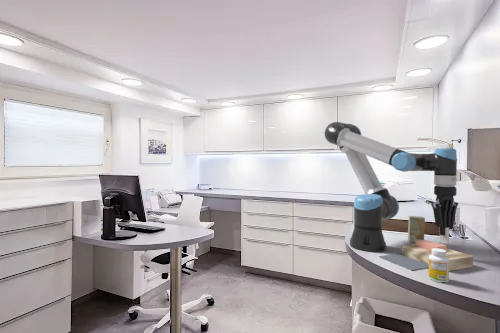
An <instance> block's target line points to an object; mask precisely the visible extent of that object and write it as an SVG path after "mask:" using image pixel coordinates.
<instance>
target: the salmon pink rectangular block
mask: <svg viewBox="0 0 500 333" xmlns="http://www.w3.org/2000/svg"><path fill="white" fill-rule="evenodd" d="M414 244H415V246H418V247H421V248H424V249H427V250H431V251H432V249H433V248H438V249H443V250H446V251H447V249H448V246H447V245H448V244H444V243H441V242H439V243H438V242H436V241H432V240H429V239H424V240H417V241H415V242H414Z"/></svg>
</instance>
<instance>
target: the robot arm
mask: <svg viewBox="0 0 500 333" xmlns="http://www.w3.org/2000/svg"><path fill="white" fill-rule="evenodd" d="M324 138H325V140H326V141H327V142H328V143H329V144H332V145H336V146H338V148H339V149H340V151H341V153H344V154H345V155H346V157H347V160H348V161H349V163H350V165H351V167H352V169H353V172H354V174H355V176H356V178H357V180H358V182H359V183H360V186H361V188H362V189H363V192H364V193H363V194H359V195H357V196H355V198H354V203H353V212H354V216H353V218H354V219H353V220H354V221H353V226H354V227H353V231H352V232H351V233H352V234H351V237H350V238H349V245H350V247H351V248H354V249H355V250H360V251H364V252H383V251H385V250H386V249H387V243H386V241H385V237H384V233H383V230H382V229H383V221H388V220H389V221H390V220H391V219H393V218H394V217H396V216H397V215H398V213H399V212H400V211H399V210H400V204H399V203H400V202H398V200H397V198H396V197H394V196H393V195H391V194H390V192H389V190H388V188H386V187H383V185H382V184H381V182H380V180H379V178H378V177H377V176H378V175H377V174H376V172H375V171H374V169H373V166H372V165H371V163H370V161H369V159H368V157H370V158H373V159H375V160H377V161H379V162H382V163H385V164H386V165H389V166H391V167H393V168H394V169H395V170H396V171H400V172H434V173H433V176H434V177H433V185H435V186H434V187H433V194H434V196H436V197H435V201H434V202H432V203H431V204H430V205H431V207H432V211H433V218H434V223H435V226H437V227H438V228H439V243H440V244H443V245H449V244H450V229H452V228H454V227H453V226H454V225H455V219H456V213H457V208H458V206H459V202H457V201H456V202H455V199H454V197H456V196H457V187H456V186H457V179H458V178H457V170H458V169H457V167H458V166H457V165H458V156H457V155H458V154H457V149H455V148H452V147H446V148H445V147H444V148H443V147H442V148H441V147H440V148H435V149H434V151H433V153H416V152H415V153H411V152H407V151H405V150H402V149H399V148H396V147H394V146H391V145H388V144H385V143H383V142H380V141H378V140H375V139H372V138H370V137H366V136H365V135H364V136H363V135H362V131H361V129H360V128H359V127H358V126H356V125H354V124H352V123H344V122H340V121H334V122H331V123H329V124H328V125H327V126H326V127H325V130H324ZM367 156H368V157H367Z"/></svg>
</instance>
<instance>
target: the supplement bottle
mask: <svg viewBox="0 0 500 333" xmlns="http://www.w3.org/2000/svg"><path fill="white" fill-rule="evenodd" d="M446 255H447V254H446V250H443V249H438V248H433V249H432V255H430V256H429V268H428V278H429V279H430V280H431V279H432V280H431V281H433V280H434V281H433V282H436V281H437V282H436V283H441V282H446V283H448V282H449V280H450V278H449V277H450V275H449V274H450V271H449V259H448V258H447V257H446Z"/></svg>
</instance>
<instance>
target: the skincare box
mask: <svg viewBox="0 0 500 333" xmlns="http://www.w3.org/2000/svg"><path fill="white" fill-rule="evenodd" d="M425 221H426V218H425V217H423V216H419V215H408V225H407V226H408V228H407V229H408V230H407V240H408V241H409V242H410V243H415V241H417V240H425V225H426V222H425Z"/></svg>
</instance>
